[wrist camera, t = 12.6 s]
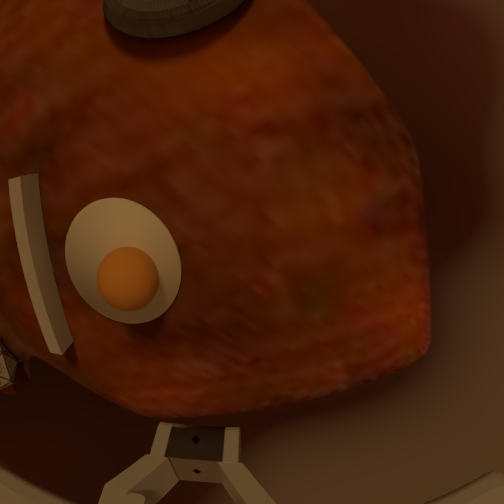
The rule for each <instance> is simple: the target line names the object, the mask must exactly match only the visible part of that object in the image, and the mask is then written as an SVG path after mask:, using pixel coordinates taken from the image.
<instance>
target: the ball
mask: <svg viewBox="0 0 504 504" xmlns="http://www.w3.org/2000/svg"><path fill="white" fill-rule="evenodd" d="M97 285H98V289H99V292H100V294H101V296H102V297H103V299H104V300H105V301H106V302H107V303H108V304H109V305H110V306H112V307H113V308H115V309H118V310H120V311H126V312H131V311H137V310H139V309H142V308H144V307H145V306H147V305H148V304H149V303H150V302H151V301H152V300H153V298H154V296H155V295H156V292H157V290H158V285H159V274H158V270H157V267H156V265H155V263H154V261H153V260H152V259H151V257H150V256H149V255H148V254H146V253H145V252H144V251H142V250H140V249H138V248H134V247H120V248H117V249H115V250H113V251H111V252H110V253H108V254H107V255H106V256H105V257H104V259H103V260H102V261H101V263H100V265H99V268H98V272H97Z"/></svg>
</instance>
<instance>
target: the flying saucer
mask: <svg viewBox="0 0 504 504" xmlns="http://www.w3.org/2000/svg"><path fill="white" fill-rule="evenodd" d="M243 1H244V0H103V11H104V14H105V16H106V18H107V20H108V21H109V23H110V24H111V25H112V26H113V27H114V28H116V29H117V30H119V31H120V32H122V33H125V34H127V35H130V36H134V37H140V38H165V37H172V36H177V35H181V34H185V33H189V32H192V31H195V30H198V29H200V28H203V27H205V26H208V25H210V24H212V23H214V22H216V21H218V20H219V19H221V18H223V17H224V16H226V15H227V14H229V13H230V12H232V11H233V10H234V9H236V8H237V7H238V6H239V5H240V4H241V3H242V2H243Z"/></svg>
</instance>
